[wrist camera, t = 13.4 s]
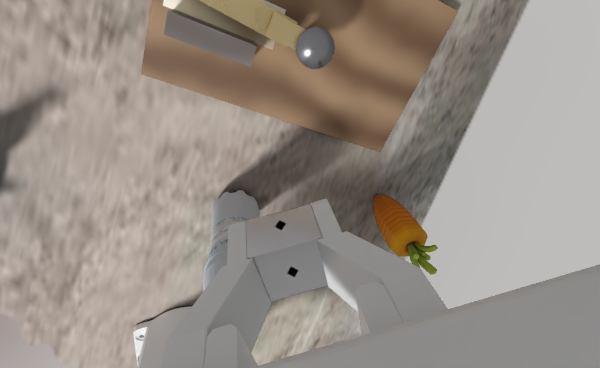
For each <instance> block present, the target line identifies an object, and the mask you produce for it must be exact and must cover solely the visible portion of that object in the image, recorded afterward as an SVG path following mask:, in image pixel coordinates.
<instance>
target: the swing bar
mask: <svg viewBox="0 0 600 368" xmlns="http://www.w3.org/2000/svg"><path fill="white" fill-rule="evenodd" d="M199 1H201V2H203V3H204V4H206V5H208V6H210V7H212V8H214V9H216V10H218V11H219V12H221V13H223V14H225V15H227V16H229V17H231V18H233V19H234V20H236V21H238V22H240V23H242V24H244V25H246V26H247V27H249V28H251V29H253V30H255V31H257V32H259V33H261V34H262V35H264V36H266V37H268V38H270V39H272V40H274V41H276V42H277V43H279V44H281V45H283V46H285V47H287V46H288V47H290V48H292V49H294V50H295V51H296V55H297V57H298V59H299V61H300V62H301V63H302V64H303V65H304V66H306V67H307V68H310V69H320V68H323V67H324V66H326V65H327V64H328V63H329V62H330V61H331V59H332V57H333V55H334V51H335V43H334V39H333V37H332V35H331V34H330V33H329V32H328V31H327V30H325V29H323V28H321V27H317V26H312V27H308V28H306V29H304V28H302V27H301V26H299V25H297V23H298V22H296V21H295V20H293V19H291V18H289V17H288V16H286V15H284V14H282V13H281V12H279V11H277V10H275V9H274V8H272V7H270V6H269V5H267V4H265V3H263V2H262V1H260V0H199Z"/></svg>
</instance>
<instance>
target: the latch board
mask: <svg viewBox="0 0 600 368" xmlns="http://www.w3.org/2000/svg"><path fill="white" fill-rule="evenodd" d="M260 1H262V2H263V3H265V4H267V5H269V6H270V7H272V8H274V9H275V10H277V11H279V12H281V13H282V14H284V15H286V16H288V17H289V18H291V19H293V20H295V21H296V22H298V23H297V25H299V26H301V27H302V28H304V29H306V28H308V27H312V26H317V27H321V28H323V29H325V30H327V31H328V32H329V33H330V34H331V35H332V37H333V39H334V43H335V51H334V55H333V57H332V59H331V61H330V62H329V63H328V64H327V65H326V66H324V67H323V68H320V69H310V68H307V67H306V66H304V65H303V64H302V63H301V62H300V61H299V59H298V57H297V55H296V51H295V50H294V49H292V48H290V47H288V46H287V47H285V46H283V45H281V44H279V43H277V42H276V41H274V40H272V39H270V38H268V37H266V36H264V35H262V34H261V33H259V32H257V31H255V30H253V29H251V28H249V27H247V26H246V25H244V24H242V23H240V22H238V21H236V20H234V19H233V18H231V17H229V16H227V15H225V14H223V13H221V12H219V11H218V10H216V9H214V8H212V7H210V6H208V5H206V4H204V3H203V2H201V1H199V0H152V4H151V10H150V17H149V24H148V31H147V37H146V44H145V51H144V57H143V64H142V71H141V74H143V75H146V76H149V77H152V78H155V79H158V80H161V81H164V82H167V83H170V84H173V85H176V86H179V87H182V88H185V89H188V90H192V91H195V92H198V93H201V94H204V95H207V96H210V97H213V98H216V99H219V100H222V101H225V102H228V103H231V104H234V105H237V106H240V107H244V108H247V109H250V110H253V111H256V112H259V113H262V114H265V115H268V116H271V117H274V118H277V119H280V120H283V121H286V122H289V123H293V124H296V125H299V126H302V127H305V128H308V129H311V130H314V131H317V132H320V133H323V134H326V135H329V136H332V137H335V138H338V139H341V140H345V141H348V142H351V143H354V144H357V145H360V146H363V147H366V148H369V149H372V150H375V151H378V152H380V151H381V149H382V147H383V146H384V144H385V142H386V140H387V138H388V137H389V135H390V133H391V131H392V129H393V128H394V126H395V124H396V122H397V120H398V119H399V117H400V115H401V113H402V111H403V110H404V108H405V106H406V104H407V102H408V101H409V99H410V97H411V95H412V93H413V92H414V90H415V88H416V86H417V84H418V83H419V81H420V79H421V77H422V75H423V74H424V72H425V70H426V68H427V66H428V65H429V63H430V61H431V59H432V57H433V56H434V54H435V52H436V50H437V48H438V47H439V45H440V43H441V41H442V39H443V38H444V36H445V34H446V32H447V31H448V29H449V27H450V25H451V23H452V22H453V20H454V18H455V16H456V14H457V13H458V11H456V10H455V9H453V8H451V7H449V6H448V5H446V4H444V3H442V2H441V1H439V0H260Z"/></svg>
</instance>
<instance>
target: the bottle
mask: <svg viewBox="0 0 600 368" xmlns="http://www.w3.org/2000/svg"><path fill="white" fill-rule="evenodd" d="M258 217H260V213H259V208H258V204H257V202H256V200H255V198H254V197H252V196H249V195H247V194H246V193H245V192H244V191H243V190H238V191H237V192H234V193H229V192H228V191H227V192H225V193H223V194H222V195H221V197H220V198H219V199H218V200H217V201H216V202H215V204H214V205H213V209H212V219H211V221H212V233H211V242H210V252H209V260H208V261H207V263H206V265H205V268H204V275H203V291H204V290H205V289H206V287H207V286H208V285H209V283H210V282H211V281H212V279H213V278H214V277H215V275H216V274H217V273H218V271H219V270H220V269H221V267H222V266H226V265H227V251H228V228H229V226H230V225H232V224H236V223H239V222H243V221H247V220H251V219H254V218H258Z"/></svg>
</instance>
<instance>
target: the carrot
mask: <svg viewBox="0 0 600 368" xmlns="http://www.w3.org/2000/svg"><path fill="white" fill-rule="evenodd" d="M373 210H374V215H375V219H376V222H377V225H378V227H379V229H380V231H381V233H382V235H383V237H384V239H385V240H386V242H387V244H388V246H389V247H390V248H391V249H392V250H393V251H394V252H395V253H396V254H397V255H398V256H410V259H411V262H412V264H413V265H415V266H417V267H419V264H420V265H421V266H422V267H423V268H424V269H425V270H426V271H427V272H429V273H430V274H435V273H436V271H437V269H436V268H434V267H433V266H432V265H431V264H430V263H428V262H427V261H426V260H429V259H430V256H429V255H427V254H426V252H431V251H434V250H436V249H437V248H438V247H437V246H436V245H432V246H424V244H425V242H426V239H427V234H426V232H425V231H424V230H423V229H422V227H421V226H420V225H419V224H418V223H417V221H416V220H415V219H414V218H413V217H412V216H411V214H410V213H409V212H408V211H407V210H406V209H405V208H404V207H403V206H402V205H400V204H399V203H398V202H397V201H395V200H394V199H392V198H390V197H388V196H385V195H381V194H377V195H376V196H375V198H374V204H373ZM418 263H419V264H418ZM419 268H420V267H419Z"/></svg>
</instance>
